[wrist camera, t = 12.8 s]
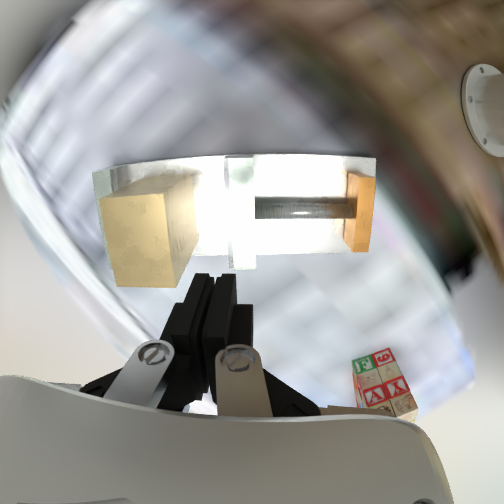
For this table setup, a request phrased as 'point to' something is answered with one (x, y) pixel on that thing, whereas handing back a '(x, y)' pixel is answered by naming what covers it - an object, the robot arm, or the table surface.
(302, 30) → the table surface
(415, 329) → the table surface
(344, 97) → the table surface
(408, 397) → the stack of blocks
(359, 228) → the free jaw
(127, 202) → the brass block
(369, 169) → the vise
